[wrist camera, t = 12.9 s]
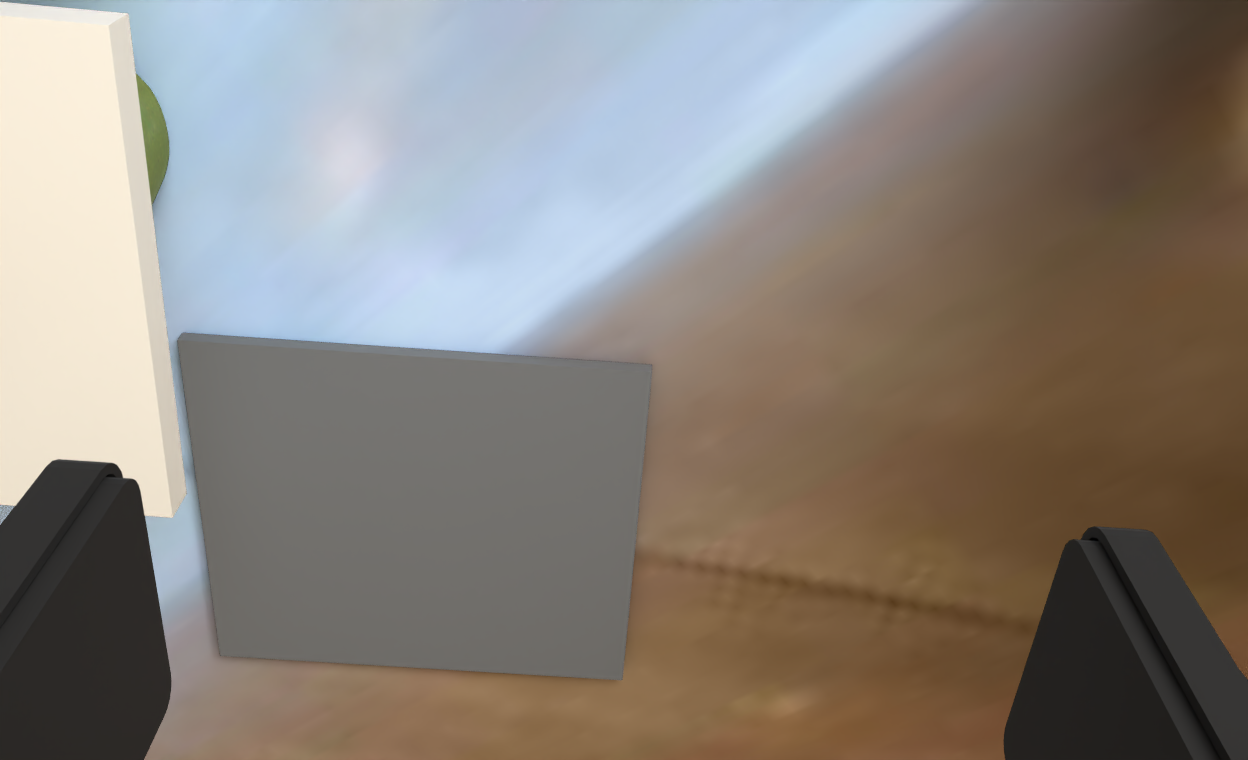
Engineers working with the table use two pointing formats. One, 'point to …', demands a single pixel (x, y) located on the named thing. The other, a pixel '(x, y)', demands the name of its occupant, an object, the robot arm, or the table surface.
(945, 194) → the table surface
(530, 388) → the mat
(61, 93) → the lid
